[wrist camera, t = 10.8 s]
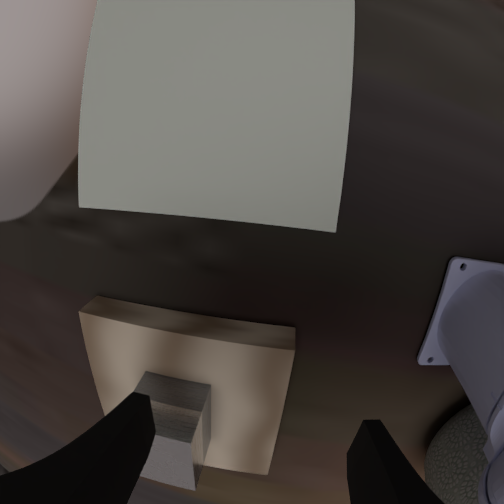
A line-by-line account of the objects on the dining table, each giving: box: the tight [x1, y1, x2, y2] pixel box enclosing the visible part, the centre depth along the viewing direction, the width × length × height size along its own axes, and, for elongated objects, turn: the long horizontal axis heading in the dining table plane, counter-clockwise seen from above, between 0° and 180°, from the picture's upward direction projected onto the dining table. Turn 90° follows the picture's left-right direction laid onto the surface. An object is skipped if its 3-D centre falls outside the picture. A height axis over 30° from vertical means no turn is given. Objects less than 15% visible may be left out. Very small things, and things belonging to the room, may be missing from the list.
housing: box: [133, 371, 211, 491], centre depth 18 cm, size 4×6×5 cm
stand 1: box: [78, 0, 355, 232], centre depth 14 cm, size 14×14×2 cm
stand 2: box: [79, 296, 295, 475], centre depth 21 cm, size 14×14×2 cm
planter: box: [424, 404, 489, 504], centre depth 16 cm, size 12×12×11 cm
